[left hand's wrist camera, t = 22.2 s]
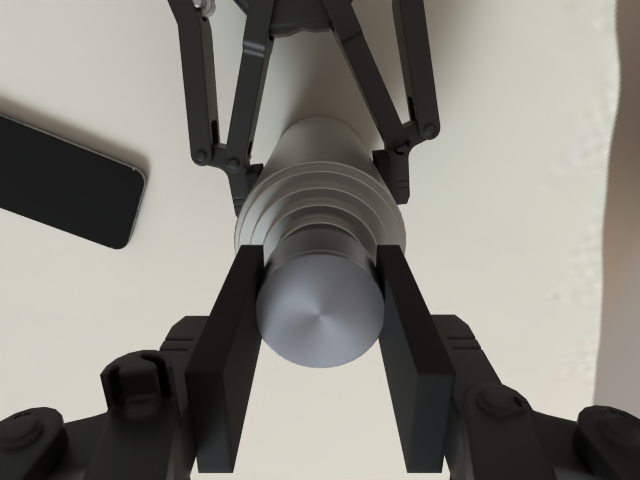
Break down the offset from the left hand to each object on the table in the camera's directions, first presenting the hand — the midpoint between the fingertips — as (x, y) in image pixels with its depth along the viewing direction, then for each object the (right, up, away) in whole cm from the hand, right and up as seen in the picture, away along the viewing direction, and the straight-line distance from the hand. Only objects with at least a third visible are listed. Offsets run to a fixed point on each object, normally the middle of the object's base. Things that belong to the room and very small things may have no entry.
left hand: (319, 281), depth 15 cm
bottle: (0, +7, +18) cm, 20 cm away
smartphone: (-22, +6, +19) cm, 29 cm away
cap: (0, -1, -2) cm, 2 cm away
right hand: (+1, 0, +14) cm, 14 cm away
